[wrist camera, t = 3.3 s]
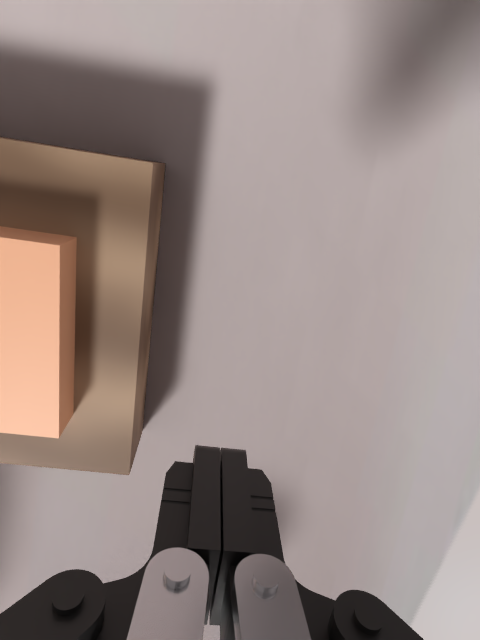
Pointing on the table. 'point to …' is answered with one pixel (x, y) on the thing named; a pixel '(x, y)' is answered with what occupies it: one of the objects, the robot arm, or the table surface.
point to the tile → (36, 331)
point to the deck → (93, 291)
